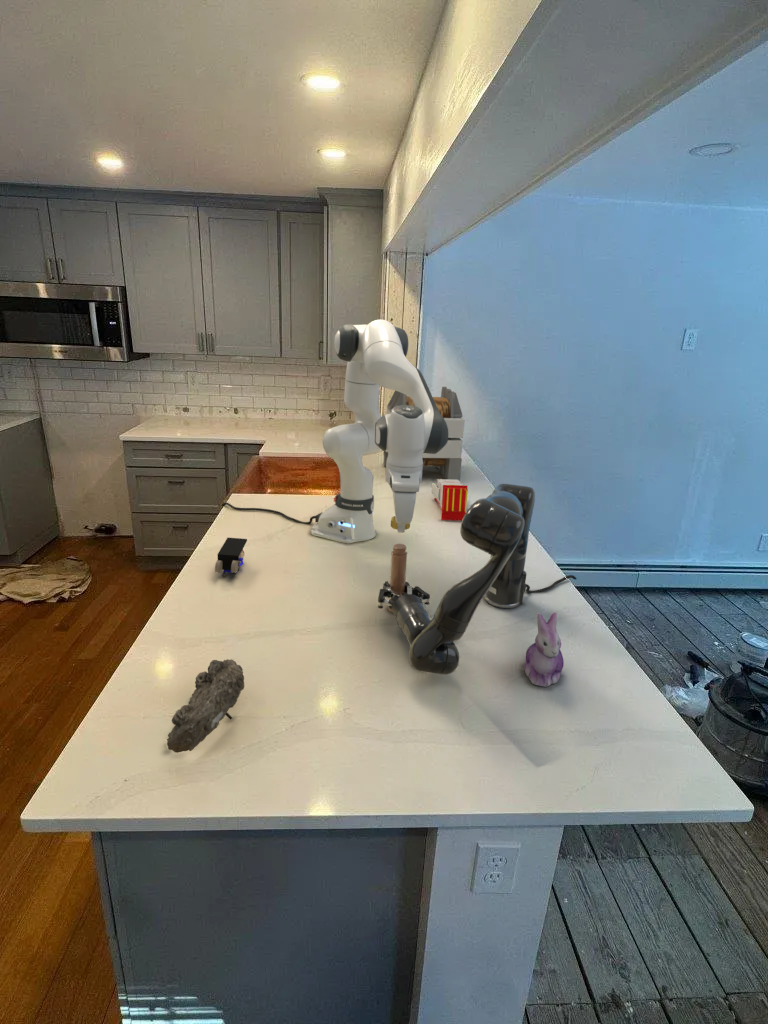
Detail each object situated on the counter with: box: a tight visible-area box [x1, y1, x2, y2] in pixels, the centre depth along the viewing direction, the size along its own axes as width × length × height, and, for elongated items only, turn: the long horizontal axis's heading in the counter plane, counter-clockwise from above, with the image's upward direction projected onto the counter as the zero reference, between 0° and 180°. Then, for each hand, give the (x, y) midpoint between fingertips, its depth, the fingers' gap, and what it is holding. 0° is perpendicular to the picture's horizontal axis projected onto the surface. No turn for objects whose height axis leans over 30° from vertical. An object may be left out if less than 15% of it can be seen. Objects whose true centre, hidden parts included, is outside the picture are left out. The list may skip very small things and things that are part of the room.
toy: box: [431, 478, 469, 522], centre depth 226 cm, size 12×13×30 cm
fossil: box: [166, 658, 245, 754], centre depth 106 cm, size 22×10×15 cm
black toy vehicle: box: [214, 537, 248, 578], centre depth 166 cm, size 7×8×15 cm
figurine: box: [524, 611, 565, 688], centre depth 122 cm, size 9×10×15 cm
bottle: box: [388, 543, 408, 613], centre depth 147 cm, size 4×4×18 cm
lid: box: [390, 515, 411, 531], centre depth 142 cm, size 5×5×2 cm
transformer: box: [383, 386, 465, 482], centre depth 268 cm, size 34×33×41 cm
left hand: (400, 527), depth 142 cm, fingers closed on lid, 4 cm apart
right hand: (394, 584), depth 150 cm, fingers closed on bottle, 4 cm apart
